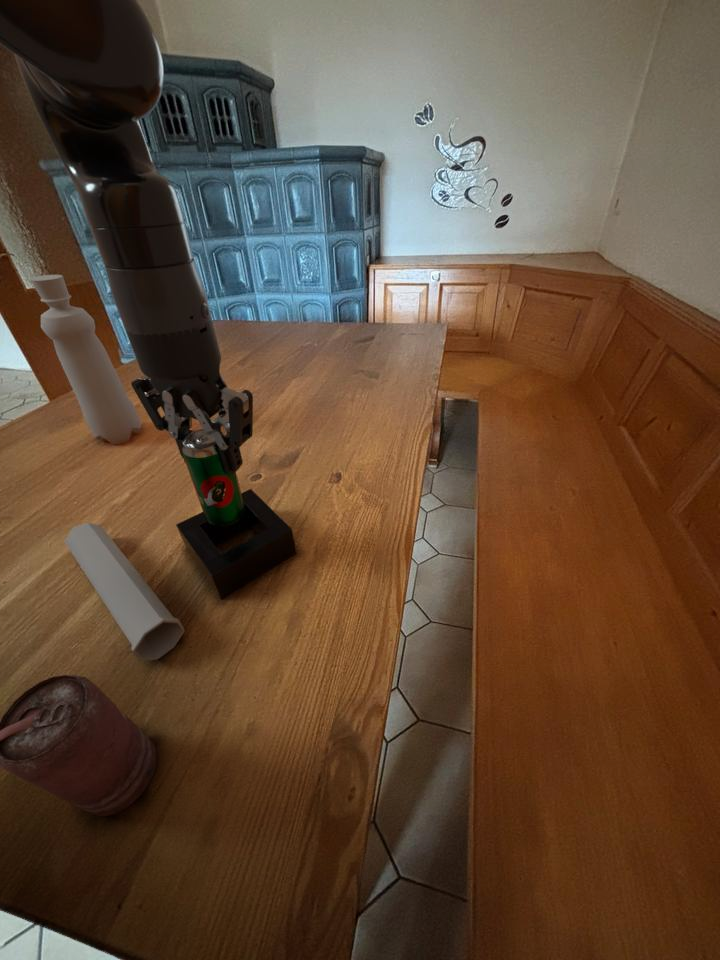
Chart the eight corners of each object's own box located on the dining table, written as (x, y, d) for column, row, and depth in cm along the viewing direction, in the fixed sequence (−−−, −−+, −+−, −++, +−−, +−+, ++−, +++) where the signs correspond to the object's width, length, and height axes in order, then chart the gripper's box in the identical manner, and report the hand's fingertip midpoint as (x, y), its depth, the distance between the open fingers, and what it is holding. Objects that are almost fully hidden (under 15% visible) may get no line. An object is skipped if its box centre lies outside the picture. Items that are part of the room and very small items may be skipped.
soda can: (253, 510, 51) (235, 433, 44) (226, 534, 48) (201, 455, 40) (226, 498, 53) (204, 422, 46) (197, 520, 50) (168, 442, 42)
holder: (296, 553, 55) (292, 529, 52) (221, 599, 49) (211, 575, 46) (256, 512, 62) (250, 488, 59) (186, 548, 56) (175, 524, 53)
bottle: (153, 427, 83) (91, 273, 64) (121, 450, 76) (41, 285, 58) (120, 421, 85) (50, 270, 66) (85, 443, 79) (-3, 282, 60)
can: (73, 776, 35) (-26, 717, 26) (143, 721, 38) (77, 652, 30) (93, 840, 32) (-12, 797, 23) (169, 774, 35) (103, 714, 26)
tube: (49, 537, 53) (122, 655, 39) (83, 509, 55) (164, 613, 41) (80, 554, 57) (156, 666, 44) (111, 527, 59) (192, 627, 45)
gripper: (75, 321, 34) (143, 471, 45) (205, 339, 30) (246, 499, 41) (139, 300, 40) (187, 438, 51) (257, 313, 36) (282, 460, 46)
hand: (213, 465), depth 46 cm, fingers closed on soda can, 5 cm apart
